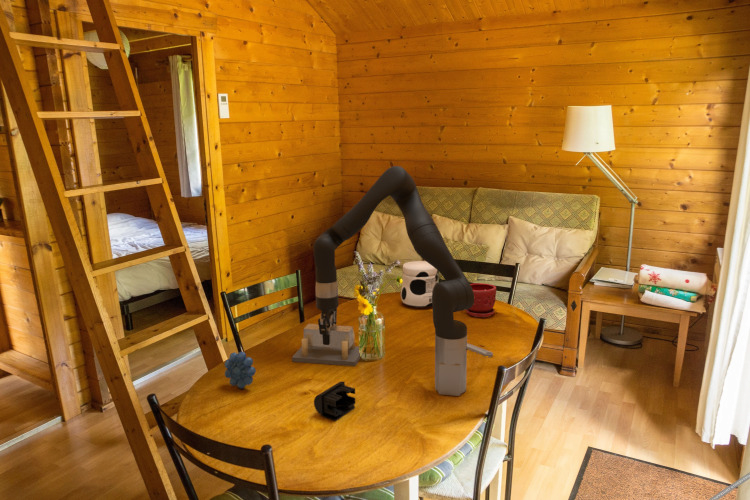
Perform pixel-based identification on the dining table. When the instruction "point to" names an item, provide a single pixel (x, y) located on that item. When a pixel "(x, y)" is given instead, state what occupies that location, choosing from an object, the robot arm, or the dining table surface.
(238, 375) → the grapes
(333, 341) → the steel bar
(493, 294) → the plant pot
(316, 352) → the peg rack
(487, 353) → the adjustable wrench
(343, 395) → the end cap
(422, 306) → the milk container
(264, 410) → the dining table surface
